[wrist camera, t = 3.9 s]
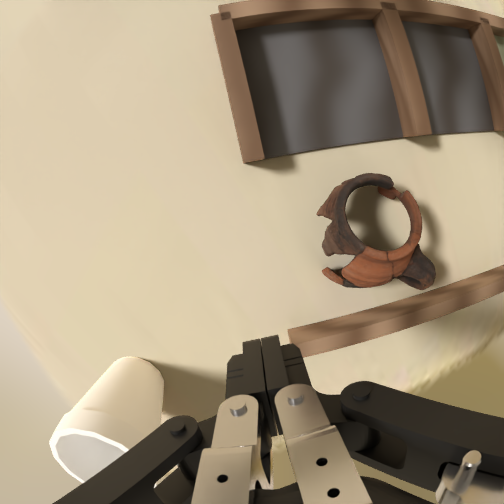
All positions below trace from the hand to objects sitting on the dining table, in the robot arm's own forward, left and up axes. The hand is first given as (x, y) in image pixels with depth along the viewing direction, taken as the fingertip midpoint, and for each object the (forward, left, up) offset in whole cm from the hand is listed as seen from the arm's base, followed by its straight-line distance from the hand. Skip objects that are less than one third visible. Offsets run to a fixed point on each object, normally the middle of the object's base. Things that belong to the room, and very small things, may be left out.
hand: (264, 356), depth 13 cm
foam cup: (-15, -11, -16) cm, 25 cm away
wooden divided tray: (+20, +6, -16) cm, 26 cm away
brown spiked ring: (+11, -1, -17) cm, 20 cm away
